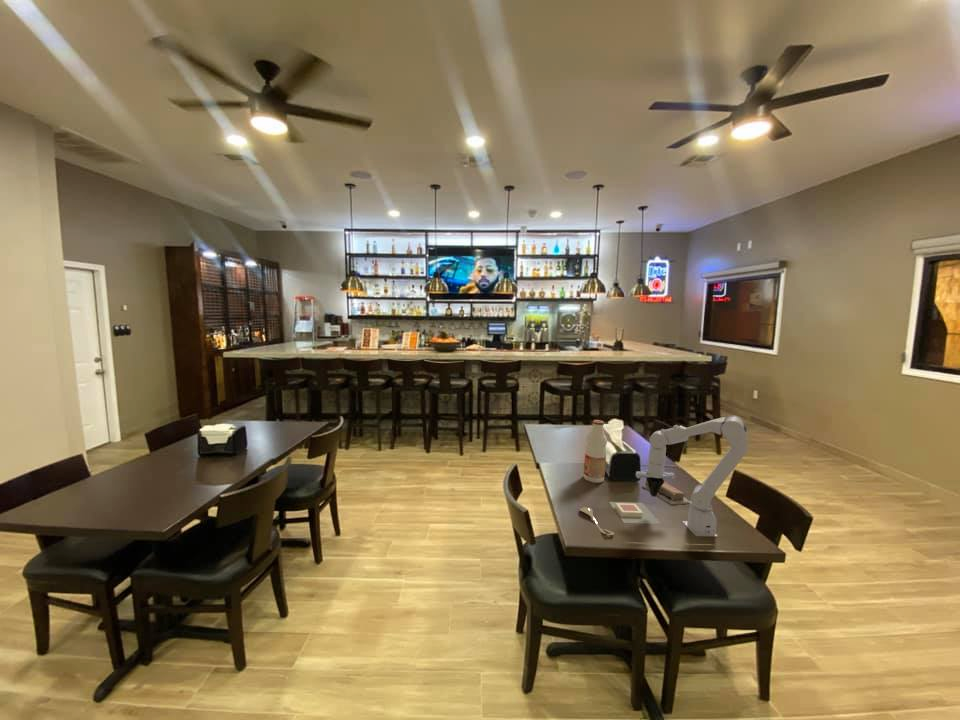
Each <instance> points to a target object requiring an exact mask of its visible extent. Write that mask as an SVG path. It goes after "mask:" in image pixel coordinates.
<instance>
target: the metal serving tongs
mask: <svg viewBox="0 0 960 720" xmlns="http://www.w3.org/2000/svg"><path fill="white" fill-rule="evenodd" d="M579 511H580V512H583V513H584V514H587V515H588V516H589V517H591V519H592V520H593V522H594V523H595V525H596V527H597V528H598V529H599V531H600V532H601V533H602V534H604V535H606V536H613V535H615V532H613V531H611V530H608V529H605V528H602V527H601V525H600V524H599V522H597V520H596V518H595V516H594V511H593V509H592V508H591V507H589V506H583V507H581V508H580V509H579Z"/></svg>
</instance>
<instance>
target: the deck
mask: <svg viewBox="0 0 960 720" xmlns="http://www.w3.org/2000/svg"><path fill="white" fill-rule="evenodd" d="M615 508H616V509H617V510H618V512H619V513H620V515H621V516H622V517H643V512H642V511H641V510H640V509H639V507H638V506H637V505H636V504H627V503H616V505H615Z"/></svg>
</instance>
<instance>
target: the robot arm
mask: <svg viewBox="0 0 960 720" xmlns="http://www.w3.org/2000/svg"><path fill="white" fill-rule="evenodd" d="M707 433H714V434H717V435H720V436H721V434H723V436H724V437H725V438H726V439H727V441H728V442H729V445H730V447H729V449H728V450H727V451H726V453H725V454H723V456H722V458H721V459H720V461H719V462H718V463H716V465H715V467H714V468H713V469H712V470H711V472H710V473H709V475H708V476H707V477H706V478H705V479H704V480H703V482H702V483H700V484H697V485H695V487H694V489H693V492H692V494H691V496H690V500H689V501H690V503H689V507H688V515H687V520H683V521H681V523H683V525H684V526H685V527H687V529H689V531H690V532H691V533H692V534H693V535H694V536H696V537H716V538H718V534H717V523H718V519H717V517H716V515H715V514H714V512H713V505H712V502H711V501H712V499H713V497H714V496H715V494H716V493H717V491H718V490H719V488H720V487H721V486H722V485H723V483H725V481H726V479H728V477H729V475H730V474H732V472H733V470H735V468H736V467H737V466H738V464H740V462H741V461H742V460H743V458H744V457H745V456H746V454H747V453H748V452H749V441H748V440H749V438H748V436H749V435H748V428H747V426H746V423H745V421H744V420H743V418H741V417H740V416H737V415H729V416H727V417H726V416H723V417H719V418H715V419H711V420H707V421H704V422H701V423H698V424H694V425H691V426H688V427H685V426H683V425H678V424H675V425H673V427H671V428H670V427H669V428H667V429H664V428H662V429H660V430H656V431H654V432H653V433H652V434H651V435H650V436H649V444H650V445H649V447H650V448H649V451H648V454H649V455H648V463H647V469H646V470H641V471H638V470H637V471H636V472H635V478H637V479H641V478H642V479H643V478H646V479H647V481H648V484H649V488H650V491H649V495H650V496H651V497H653V498H654V497H655V498H656V497H657V493H658V491H659V489H660V487H661V486H662V485H663V484H664V482H665V480H664V479H671V480H675V479H676V474H675V473H674V472H671V471H665V464H666V463H665V462H666V453H667V452H666V450H667V449H666V448H667V445H668V446H669V445H675V444H678V443H683V442H686V441H688V439H689V437H694V436H698V435H703V434H707ZM646 479H645V480H646Z"/></svg>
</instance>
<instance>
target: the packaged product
mask: <svg viewBox="0 0 960 720" xmlns="http://www.w3.org/2000/svg"><path fill="white" fill-rule="evenodd" d="M641 487H642V488H643V489H645V490H646V491H649V492H650V488H649V484H648V481H647V479H645V484H643V483H642V486H641ZM685 495H686V494H685V493H684V492H682V491H680V490H679V489H677V488H675V487H674V486H673V485H671V484H669V483H667V481H666V482H665V481H664V484H663V485H662V486H661V487H660V489H659V491H658V493H657V495H656V497H658V498H660V499H661V500H663V501H665V502H667V504H670V505H672V506H673V505H684V504H686V505H687V504H690V501H691V500H689V499H687V498H686V497H685Z"/></svg>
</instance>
